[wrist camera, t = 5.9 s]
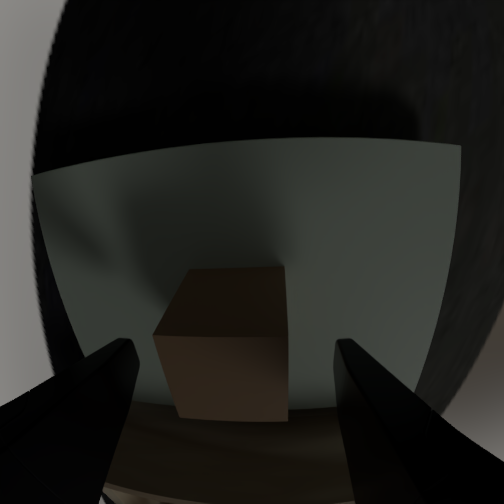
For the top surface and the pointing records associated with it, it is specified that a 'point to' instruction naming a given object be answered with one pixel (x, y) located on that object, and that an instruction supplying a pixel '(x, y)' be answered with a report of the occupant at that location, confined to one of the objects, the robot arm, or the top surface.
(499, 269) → the top surface
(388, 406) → the robot arm
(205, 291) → the lid
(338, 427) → the box
